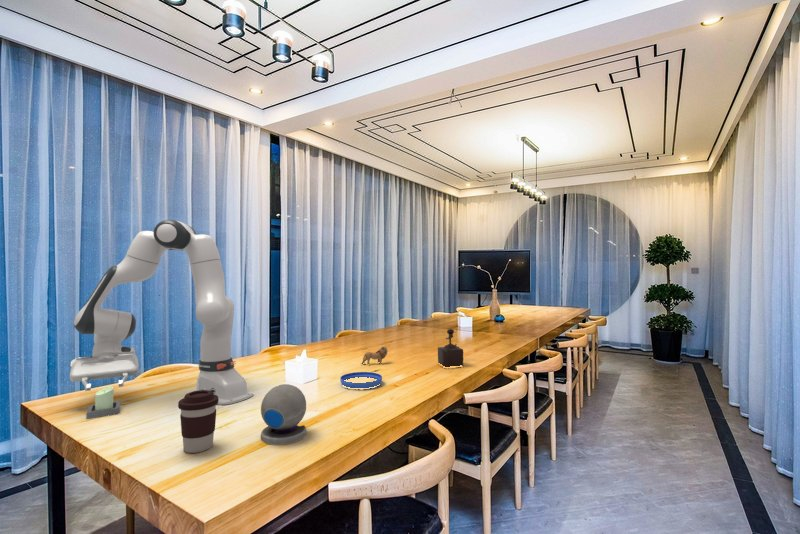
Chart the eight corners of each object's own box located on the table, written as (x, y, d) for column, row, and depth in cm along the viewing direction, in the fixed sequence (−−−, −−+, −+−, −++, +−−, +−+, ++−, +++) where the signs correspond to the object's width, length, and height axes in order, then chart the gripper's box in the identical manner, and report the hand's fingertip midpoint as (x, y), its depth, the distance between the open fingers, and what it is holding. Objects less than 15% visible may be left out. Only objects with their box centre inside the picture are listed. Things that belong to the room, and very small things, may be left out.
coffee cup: (187, 440, 114) (188, 388, 114) (223, 439, 115) (223, 387, 115) (170, 456, 104) (171, 399, 104) (210, 455, 105) (210, 398, 105)
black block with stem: (465, 367, 202) (465, 332, 202) (445, 369, 199) (445, 333, 199) (452, 361, 217) (452, 328, 217) (433, 362, 214) (433, 329, 214)
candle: (98, 416, 134) (99, 391, 134) (92, 413, 136) (92, 389, 136) (115, 411, 138) (116, 388, 138) (109, 409, 140) (109, 385, 141)
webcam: (313, 429, 123) (313, 380, 123) (293, 447, 110) (293, 393, 110) (275, 425, 125) (275, 378, 126) (251, 442, 113) (251, 389, 113)
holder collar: (89, 411, 138) (89, 405, 138) (120, 406, 143) (120, 400, 143) (86, 419, 131) (86, 413, 131) (119, 413, 136) (119, 407, 136)
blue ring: (359, 377, 184) (359, 369, 184) (390, 383, 174) (390, 375, 174) (331, 386, 170) (331, 378, 170) (363, 394, 159) (363, 385, 159)
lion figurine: (385, 362, 214) (385, 345, 214) (389, 364, 209) (389, 347, 209) (359, 364, 208) (359, 347, 209) (362, 366, 204) (362, 349, 204)
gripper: (70, 353, 141) (65, 387, 133) (139, 347, 152) (138, 378, 144) (71, 363, 144) (67, 397, 136) (139, 357, 156) (138, 388, 147)
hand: (104, 387), depth 140 cm, fingers open, 8 cm apart
